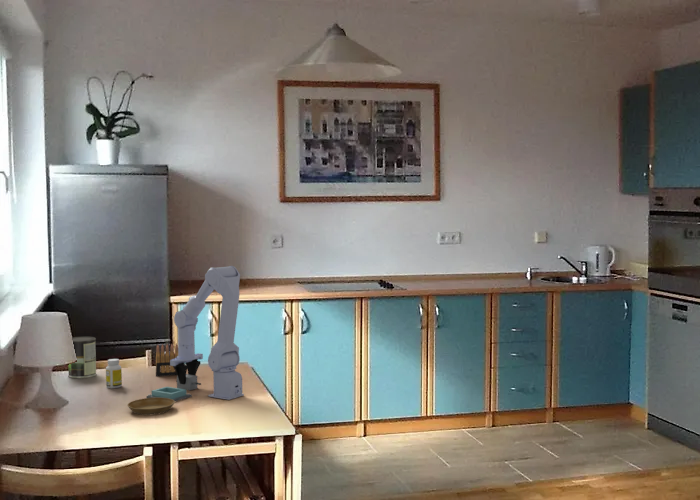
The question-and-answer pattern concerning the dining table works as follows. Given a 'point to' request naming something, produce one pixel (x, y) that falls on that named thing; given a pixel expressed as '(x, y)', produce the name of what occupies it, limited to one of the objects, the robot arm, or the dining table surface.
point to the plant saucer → (151, 405)
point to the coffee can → (83, 358)
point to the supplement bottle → (113, 374)
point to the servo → (188, 382)
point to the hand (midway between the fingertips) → (187, 382)
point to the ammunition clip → (165, 361)
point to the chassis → (169, 393)
